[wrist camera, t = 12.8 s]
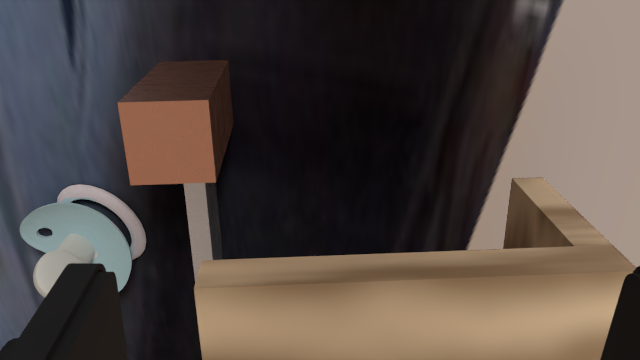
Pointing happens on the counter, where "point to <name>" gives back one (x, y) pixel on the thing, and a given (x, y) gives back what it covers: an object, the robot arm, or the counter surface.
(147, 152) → the orange-brown mallet
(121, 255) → the pacifier
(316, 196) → the counter surface
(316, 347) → the oak shelf
